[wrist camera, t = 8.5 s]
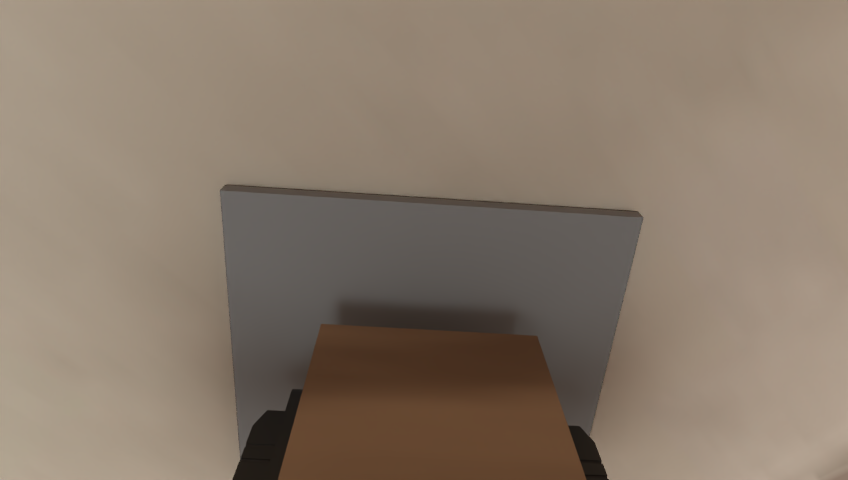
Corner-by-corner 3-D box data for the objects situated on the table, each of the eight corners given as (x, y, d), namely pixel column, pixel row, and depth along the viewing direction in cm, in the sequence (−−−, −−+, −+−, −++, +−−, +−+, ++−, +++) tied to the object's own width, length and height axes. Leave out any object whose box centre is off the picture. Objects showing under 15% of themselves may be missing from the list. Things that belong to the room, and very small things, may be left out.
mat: (225, 184, 14) (220, 190, 13) (637, 211, 14) (643, 217, 14) (247, 492, 18) (243, 502, 17) (566, 505, 18) (569, 516, 18)
